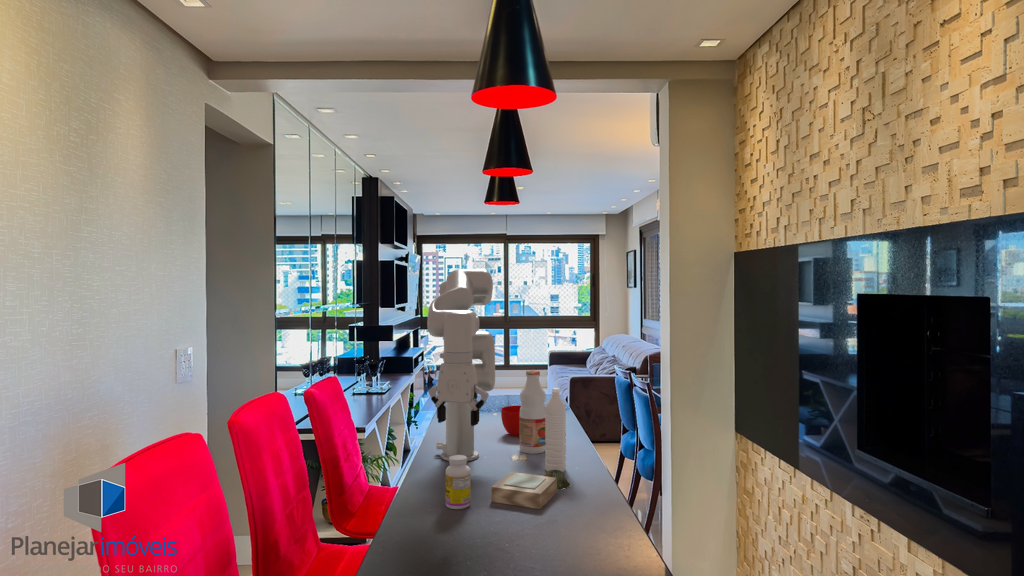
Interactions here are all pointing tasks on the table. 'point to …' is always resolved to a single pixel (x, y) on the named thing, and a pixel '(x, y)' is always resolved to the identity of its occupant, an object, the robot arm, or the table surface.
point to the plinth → (524, 490)
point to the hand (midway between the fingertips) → (458, 423)
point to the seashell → (558, 478)
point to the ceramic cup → (511, 419)
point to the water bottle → (555, 432)
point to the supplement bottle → (457, 483)
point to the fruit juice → (532, 415)
